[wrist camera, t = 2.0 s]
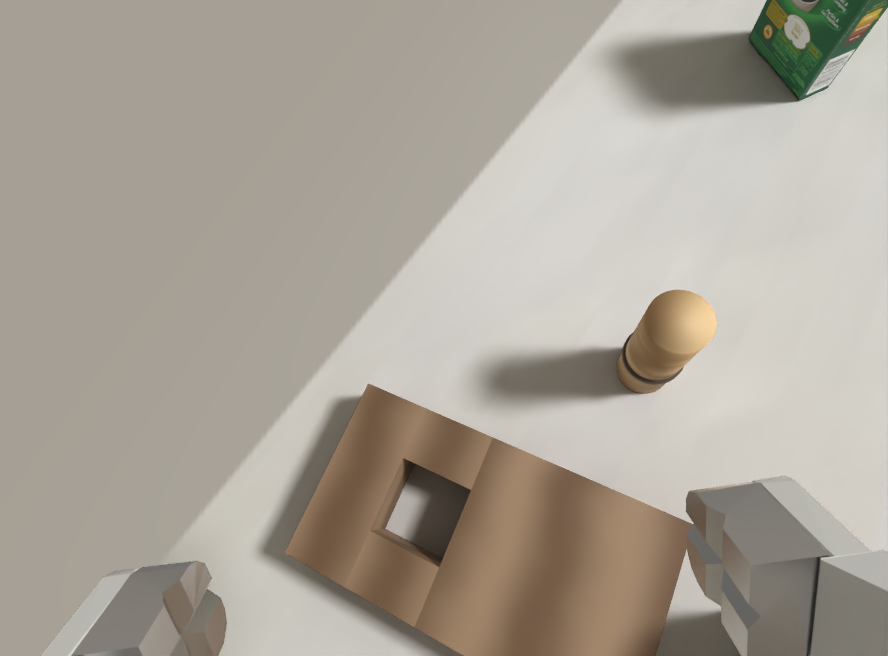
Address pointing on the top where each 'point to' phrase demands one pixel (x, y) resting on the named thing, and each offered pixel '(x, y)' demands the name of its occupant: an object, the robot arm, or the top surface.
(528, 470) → the walnut board
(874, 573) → the robot arm
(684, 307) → the oak peg
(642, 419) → the top surface
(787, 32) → the coffee box
